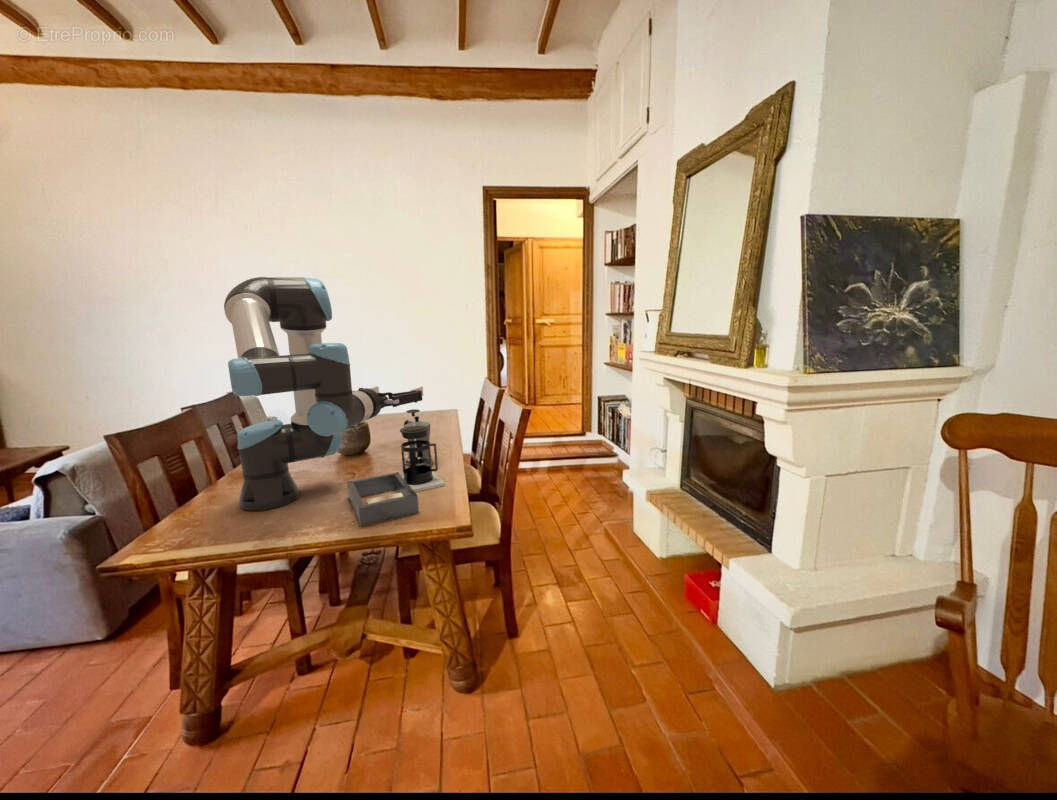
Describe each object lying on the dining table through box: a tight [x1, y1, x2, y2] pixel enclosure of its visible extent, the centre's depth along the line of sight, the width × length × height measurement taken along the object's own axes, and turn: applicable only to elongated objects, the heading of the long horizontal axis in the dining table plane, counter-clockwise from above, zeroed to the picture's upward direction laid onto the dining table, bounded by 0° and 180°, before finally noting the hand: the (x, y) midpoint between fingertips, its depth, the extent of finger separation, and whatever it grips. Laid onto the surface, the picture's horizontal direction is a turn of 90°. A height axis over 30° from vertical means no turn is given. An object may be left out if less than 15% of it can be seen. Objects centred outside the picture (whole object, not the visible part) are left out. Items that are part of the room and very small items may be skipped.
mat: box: [401, 471, 446, 493], centre depth 142 cm, size 11×14×1 cm
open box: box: [346, 471, 420, 528], centre depth 125 cm, size 15×22×5 cm
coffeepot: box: [403, 415, 434, 467], centre depth 159 cm, size 15×9×18 cm, turn 45°
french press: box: [399, 409, 439, 485], centre depth 140 cm, size 12×9×23 cm
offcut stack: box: [366, 492, 403, 504], centre depth 119 cm, size 11×4×5 cm, turn 120°
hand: (399, 390), depth 127 cm, fingers open, 13 cm apart
